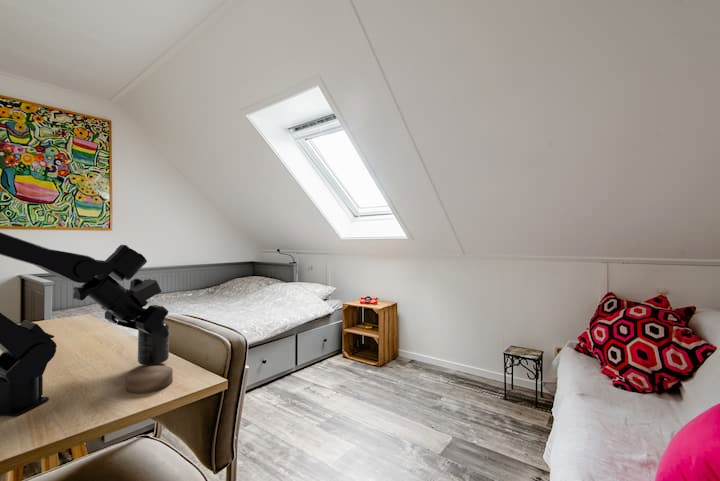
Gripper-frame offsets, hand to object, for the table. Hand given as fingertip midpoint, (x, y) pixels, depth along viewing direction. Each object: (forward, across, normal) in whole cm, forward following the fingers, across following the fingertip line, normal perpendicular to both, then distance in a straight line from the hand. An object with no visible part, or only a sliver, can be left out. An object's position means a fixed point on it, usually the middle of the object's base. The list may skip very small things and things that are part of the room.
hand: (159, 333), depth 92 cm
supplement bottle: (+4, 0, +6) cm, 7 cm away
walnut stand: (0, -10, +11) cm, 15 cm away
